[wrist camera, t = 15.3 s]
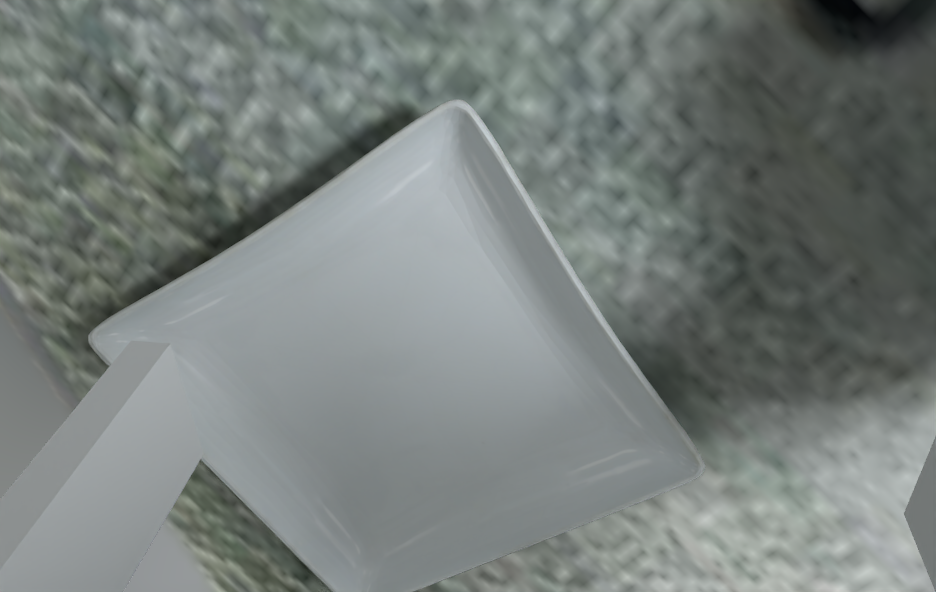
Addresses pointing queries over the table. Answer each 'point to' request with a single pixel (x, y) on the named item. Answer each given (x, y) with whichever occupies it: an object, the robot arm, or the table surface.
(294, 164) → the table surface
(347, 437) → the square plate
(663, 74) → the table surface
